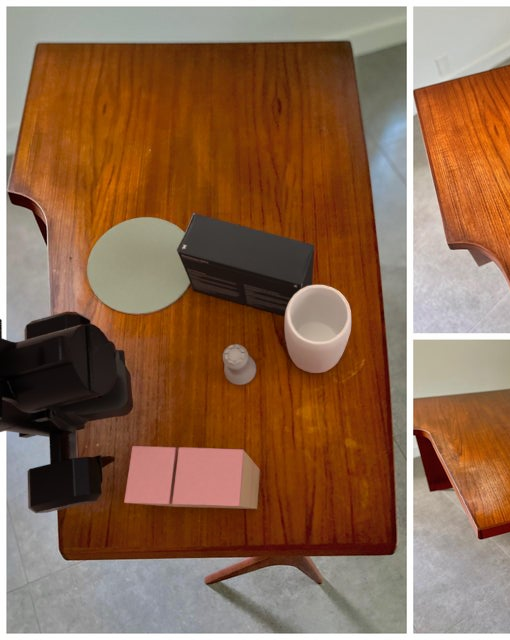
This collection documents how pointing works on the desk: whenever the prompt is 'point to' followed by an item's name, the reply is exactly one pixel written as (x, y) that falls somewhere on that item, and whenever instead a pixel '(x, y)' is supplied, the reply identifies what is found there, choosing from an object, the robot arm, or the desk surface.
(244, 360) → the rook chess piece
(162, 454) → the pink-topped tan pillar
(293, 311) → the cup
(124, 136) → the desk surface
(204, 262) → the box
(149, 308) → the plate
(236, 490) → the tall pink tan block
